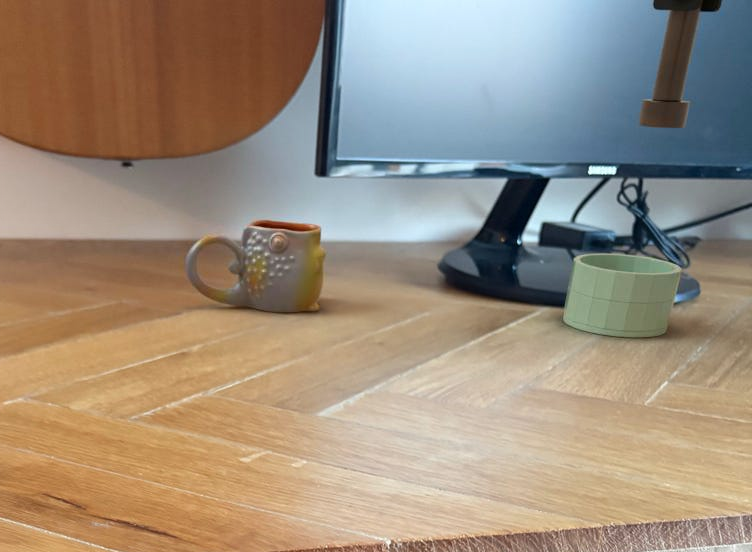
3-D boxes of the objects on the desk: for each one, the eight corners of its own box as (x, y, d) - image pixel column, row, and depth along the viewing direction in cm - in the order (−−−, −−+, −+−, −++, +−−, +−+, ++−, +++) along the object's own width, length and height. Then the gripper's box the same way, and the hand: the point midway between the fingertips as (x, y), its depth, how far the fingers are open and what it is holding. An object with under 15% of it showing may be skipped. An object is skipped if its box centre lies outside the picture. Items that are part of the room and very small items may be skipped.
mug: (308, 295, 90) (313, 216, 87) (331, 313, 84) (337, 230, 81) (177, 298, 87) (177, 216, 84) (192, 317, 82) (192, 230, 78)
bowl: (633, 311, 90) (646, 253, 87) (687, 337, 83) (703, 274, 80) (545, 312, 88) (556, 253, 85) (592, 338, 81) (606, 274, 78)
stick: (668, 124, 73) (713, -88, 66) (693, 128, 70) (743, -93, 64) (629, 123, 72) (671, -91, 66) (653, 127, 69) (699, -96, 63)
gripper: (768, -420, 51) (680, 7, 60) (881, -343, 60) (790, 15, 70) (635, -386, 55) (573, 5, 65) (760, -319, 65) (689, 14, 74)
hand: (686, 8), depth 67 cm, fingers closed on stick, 2 cm apart
